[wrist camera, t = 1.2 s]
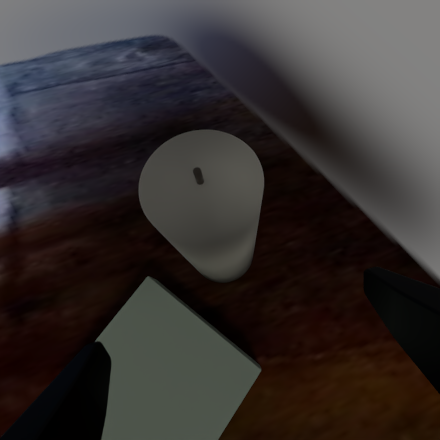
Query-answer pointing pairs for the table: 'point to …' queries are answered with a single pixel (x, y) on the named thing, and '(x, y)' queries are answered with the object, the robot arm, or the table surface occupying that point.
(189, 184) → the candle
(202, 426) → the stand
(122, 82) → the table surface
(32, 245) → the table surface
